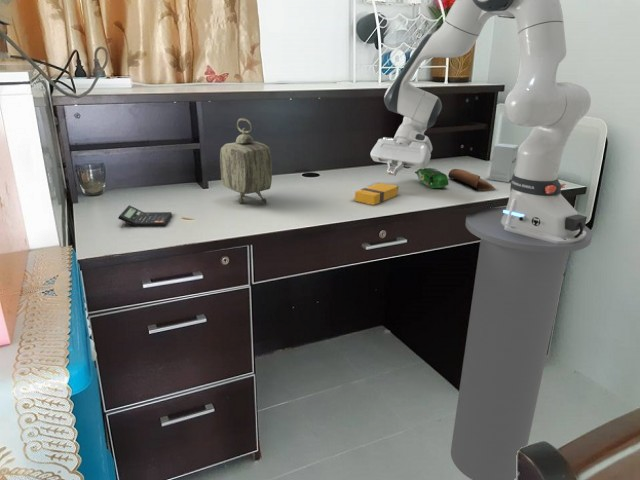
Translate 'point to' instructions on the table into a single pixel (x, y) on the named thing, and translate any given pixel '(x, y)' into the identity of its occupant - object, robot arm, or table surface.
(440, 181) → the snack package
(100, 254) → the table surface
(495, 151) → the white packaging box
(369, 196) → the block
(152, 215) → the calculator
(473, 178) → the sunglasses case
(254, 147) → the tabletop clock
